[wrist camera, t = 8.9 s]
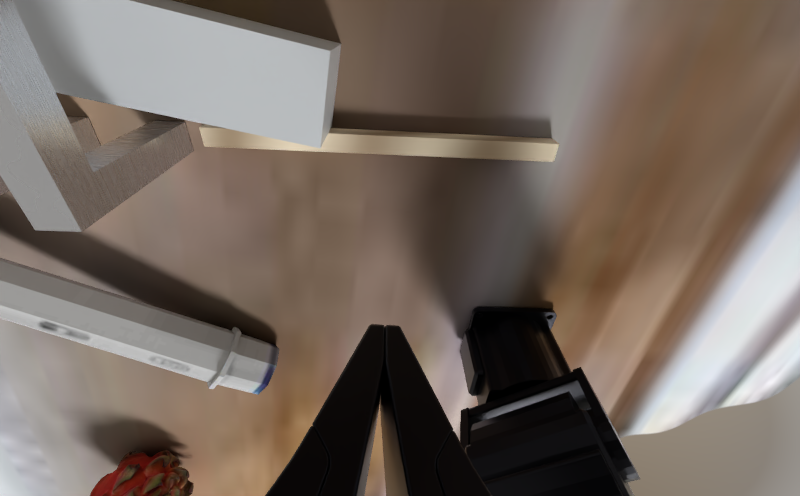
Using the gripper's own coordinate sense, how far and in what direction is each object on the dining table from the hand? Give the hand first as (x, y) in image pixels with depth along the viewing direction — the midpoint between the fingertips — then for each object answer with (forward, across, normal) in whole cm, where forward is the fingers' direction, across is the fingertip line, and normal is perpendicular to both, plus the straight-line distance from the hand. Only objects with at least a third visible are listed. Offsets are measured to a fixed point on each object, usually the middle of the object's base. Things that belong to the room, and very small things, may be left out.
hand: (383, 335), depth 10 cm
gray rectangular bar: (+13, +11, -5) cm, 18 cm away
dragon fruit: (+13, +23, +37) cm, 46 cm away
